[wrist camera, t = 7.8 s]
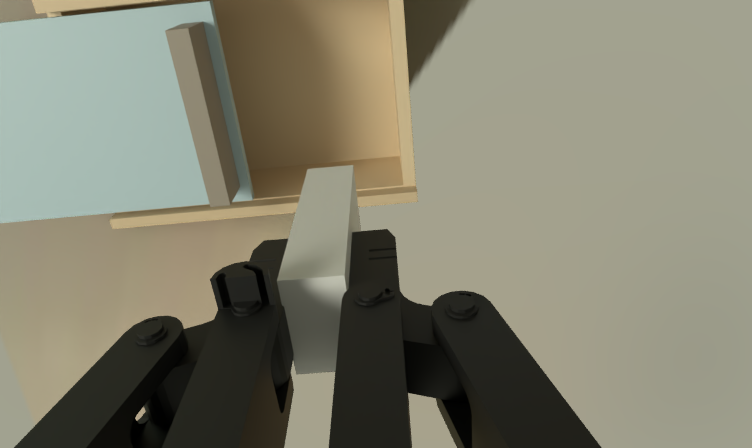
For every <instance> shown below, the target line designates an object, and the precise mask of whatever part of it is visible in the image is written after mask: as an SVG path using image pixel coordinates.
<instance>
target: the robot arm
mask: <svg viewBox="0 0 752 448" xmlns="http://www.w3.org/2000/svg"><path fill="white" fill-rule="evenodd" d="M210 281H211V284H212V288H213V292H214V295H215V299H216V303H217V306H218V312H217V314H216V316H215V319H214V320H212V321H210V322H207V323H204V324H201V325H197V326H194V327H190V328H187V329H184V328H183V325H182V322H181V321H180V320H178V319H177V318H175V317H171V316H157V317H152V318H149V319H146V320H144V321H142V322H140V323H138V324H136V325H134V326H133V327H131V328H130V329H129V330H128V331H126V332H125V333H124V334H123V335H122V336H121V337H120V338H119V340H118V341H117V342H116V343H115V344H114V345H113V346H112V347H111V348H110V349H109V350H108V351H107V352H106V353H105V354H104V355H103V356H102V357H101V358H100V359H99V360H98V361H97V362H96V363H95V364H94V365H93V366H92V367H91V369H90V370H89V371H88V372H87V373H86V374H85V375H84V376H83V377H82V378H81V379H80V380H79V381H78V382H77V383H76V384H75V385H74V386H73V387H72V388H71V389H70V390H69V391H68V392H67V393H66V394H65V395H64V396H63V398H62V399H61V400H60V401H59V402H58V403H57V404H56V405H55V406H54V407H53V408H52V409H51V410H50V411H49V412H48V413H47V414H46V415H45V416H44V417H43V418H42V419H41V420H40V421H39V422H38V423H37V424H36V425H35V427H34V428H33V429H32V430H31V431H30V432H29V433H28V434H27V435H26V436H25V437H24V438H23V439H22V440H21V441H20V442H19V443H18V444H17V445H16V446H15V447H14V448H284V445H285V439H286V433H287V427H288V421H289V414H290V409H291V403H292V397H293V391H294V389H293V381H292V377H291V367H292V361H294V366H295V370H296V374H309V373H322V372H335V383H334V395H333V406H332V418H331V429H330V440H329V448H412V441H411V428H410V415H409V399H408V393H412V394H417V395H422V396H427V397H433V398H436V401H437V405H438V408H439V410H440V412H441V414H442V416H443V419H444V421H445V423H446V425H447V427H448V429H449V431H450V434H451V436H452V438H453V440H454V442H455V444H456V446H457V448H601V446H600V445H599V444H598V443H597V441H596V440H595V439H594V437H593V436H592V435H591V434H590V432H589V431H588V429H587V428H586V427H585V425H584V424H583V423H582V422H581V420H580V419H579V418H578V416H577V415H576V414H575V412H574V411H573V410H572V408H571V407H570V406H569V404H568V403H567V402H566V400H565V399H564V398H563V397H562V395H561V394H560V393H559V391H558V390H557V389H556V387H555V386H554V385H553V383H552V382H551V381H550V380H549V378H548V377H547V376H546V374H545V373H544V372H543V370H542V369H541V368H540V366H539V365H538V364H537V363H536V361H535V360H534V359H533V357H532V356H531V354H530V353H529V352H528V351H527V349H526V348H525V347H524V345H523V344H522V343H521V341H520V340H519V339H518V337H517V336H516V335H515V333H514V332H513V331H512V330H511V328H510V327H509V326H508V324H507V323H506V322H505V320H504V319H503V318H502V317H501V315H500V314H499V312H498V311H497V310H496V309H495V307H494V306H493V305H492V304H491V302H490V301H489V300H488V299H486V298H485V297H484V296H482V295H479V294H477V293H474V292H468V291H455V292H449V293H446V294H444V295H441V296H440V297H438V298H437V299H436V300H435V301H434V302H433V305H432V306H428V305H422V304H417V303H414V302H412V301H410V300H408V299H407V298H405V297H404V296H403V295H402V293H401V292H400V288H399V276H398V264H397V253H396V242H395V237H394V236H393V235H392V234H391V233H390V232H389V231H388V230H387V229H384V230H372V231H361V227H360V218H359V209H358V200H357V192H356V183H355V175H354V166H353V165H348V166H336V167H325V168H313V169H308V170H307V173H306V177H305V180H304V184H303V188H302V191H301V195H300V199H299V202H298V206H297V209H296V213H295V217H294V220H293V224H292V228H291V231H290V235H289V238H288V239H279V240H267V241H263V242H262V243H261V244H260V245H259V246H258V247H257V248H256V249H254V250H253V253H252V255H251V258H250V261H249V262H248V261H245V262H240V263H234V264H231V265H229V266H226V267H224V268H222V269H221V270H219V271H218V272H216V273H215V274H214V275H213V276H212V278H211V279H210ZM143 406H144V408H145V411H146V412H145V413H144V415H143V416H142V417H141V418H140V419H139V420H138V421H136V419H135V417H136V415H137V414H138V412H139V411H140V410H141V409H142V407H143Z"/></svg>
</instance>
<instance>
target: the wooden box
mask: <svg viewBox="0 0 752 448" xmlns="http://www.w3.org/2000/svg"><path fill="white" fill-rule="evenodd" d="M199 1H209V0H32V2H33V5H34V8H35V11H36V14H38V13H47V15H48V17H57V16H66V15H76V14H85V13H95V12H104V11H114V10H123V9H133V8H142V7H152V6H161V5H171V4H180V3H190V2H199ZM212 1H213V6H214V10H215V15H216V20H217V24H218V29H219V33H220V38H221V43H222V47H223V52H224V57H225V61H226V66H227V71H228V75H229V80H230V85H231V89H232V94H233V99H234V103H235V108H236V113H237V117H238V122H239V127H240V131H241V136H242V140H243V145H244V150H245V154H246V159H247V164H248V168H249V173H250V178H251V182H252V187H253V192H254V199H253V200H249V201H238V202H232V203H231V205H228V206H217V207H210V204H205V205H194V206H183V207H172V208H161V209H150V210H139V211H128V212H117V213H115V214H114V215H113V216H112V217H111V218H110V219H109V220H110V223H111V226H112V229H120V228H131V227H142V226H153V225H164V224H175V223H187V222H198V221H209V220H220V219H231V218H242V217H253V216H265V215H276V214H287V213H296V209H297V206H298V202H299V199H300V195H301V191H302V188H303V184H304V180H305V177H306V173H307V170H308V169H313V168H325V167H336V166H348V165H353V166H354V175H355V183H356V192H357V200H358V207H364V206H376V205H386V204H398V203H409V202H417V201H418V200H417V189H416V180H415V167H414V152H413V151H414V150H413V136H412V121H411V106H410V92H409V77H408V63H407V48H406V33H405V19H404V4H403V0H212Z"/></svg>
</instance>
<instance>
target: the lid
mask: <svg viewBox="0 0 752 448" xmlns="http://www.w3.org/2000/svg"><path fill="white" fill-rule="evenodd" d="M253 199H254V192H253V187H252V182H251V178H250V173H249V168H248V164H247V159H246V154H245V150H244V145H243V140H242V136H241V131H240V127H239V122H238V117H237V113H236V108H235V103H234V99H233V94H232V89H231V85H230V80H229V75H228V71H227V66H226V61H225V57H224V52H223V47H222V43H221V38H220V33H219V29H218V24H217V20H216V15H215V10H214V6H213V1H212V0H209V1H199V2H190V3H180V4H171V5H161V6H152V7H142V8H133V9H123V10H114V11H104V12H95V13H85V14H76V15H66V16H57V17H47V18H38V19H28V20H19V21H9V22H0V223H7V222H18V221H29V220H40V219H51V218H62V217H73V216H84V215H95V214H106V213H117V212H128V211H139V210H150V209H161V208H172V207H183V206H194V205H205V204H210V207H217V206H228V205H231V203H232V202H238V201H249V200H253Z"/></svg>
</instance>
